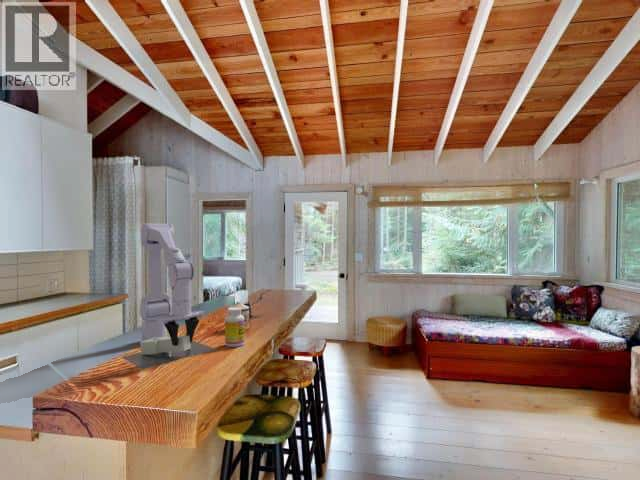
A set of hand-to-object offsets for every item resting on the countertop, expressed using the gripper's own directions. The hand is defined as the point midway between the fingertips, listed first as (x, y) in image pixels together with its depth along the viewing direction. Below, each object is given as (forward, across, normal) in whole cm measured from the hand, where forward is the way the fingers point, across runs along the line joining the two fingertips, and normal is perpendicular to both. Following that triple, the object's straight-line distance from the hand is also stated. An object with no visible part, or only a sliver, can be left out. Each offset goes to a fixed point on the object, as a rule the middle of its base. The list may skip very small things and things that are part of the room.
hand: (182, 343), depth 112 cm
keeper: (+4, +5, +7) cm, 9 cm away
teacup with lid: (+5, +35, +19) cm, 40 cm away
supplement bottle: (+5, +19, -1) cm, 20 cm away
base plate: (+4, -1, +6) cm, 8 cm away
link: (+3, -2, +5) cm, 6 cm away
